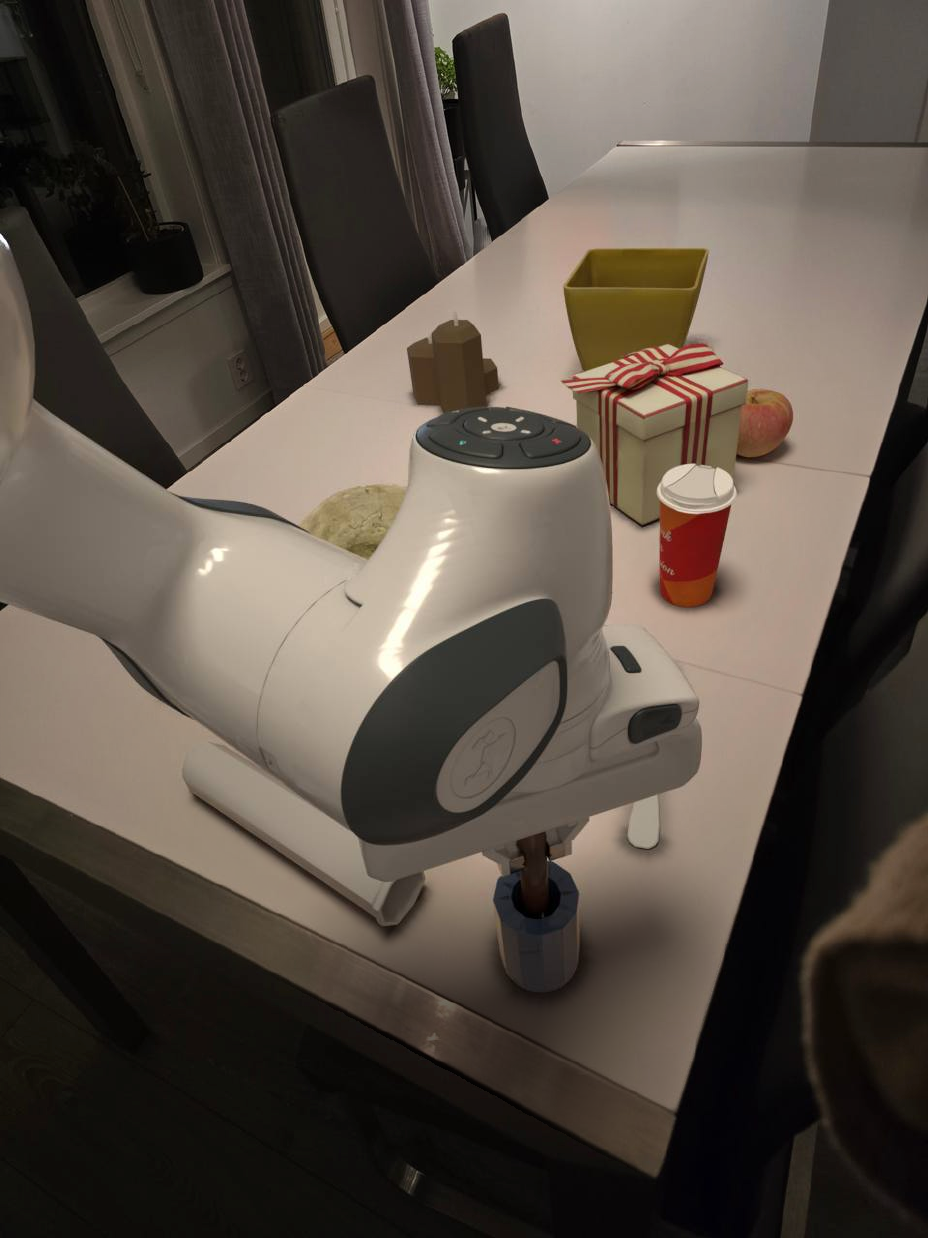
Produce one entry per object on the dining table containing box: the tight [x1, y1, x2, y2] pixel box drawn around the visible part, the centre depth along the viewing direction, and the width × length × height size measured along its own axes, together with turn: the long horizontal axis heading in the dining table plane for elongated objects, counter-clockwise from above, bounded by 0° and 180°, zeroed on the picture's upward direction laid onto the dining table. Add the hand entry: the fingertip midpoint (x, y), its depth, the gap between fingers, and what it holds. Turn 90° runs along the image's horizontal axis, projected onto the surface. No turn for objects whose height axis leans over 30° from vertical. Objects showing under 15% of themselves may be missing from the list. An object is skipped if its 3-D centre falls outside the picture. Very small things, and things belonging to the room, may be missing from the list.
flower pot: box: [562, 247, 710, 372], centre depth 126 cm, size 19×19×17 cm
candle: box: [406, 310, 500, 414], centre depth 126 cm, size 14×14×15 cm
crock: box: [492, 860, 581, 994], centre depth 56 cm, size 6×6×8 cm
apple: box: [736, 388, 794, 458], centre depth 107 cm, size 9×9×8 cm
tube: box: [181, 742, 426, 927], centre depth 67 cm, size 5×5×25 cm
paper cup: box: [657, 464, 738, 608], centre depth 84 cm, size 8×8×14 cm
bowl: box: [298, 483, 407, 560], centre depth 90 cm, size 14×18×15 cm
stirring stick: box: [517, 831, 550, 919], centre depth 53 cm, size 2×2×17 cm
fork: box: [626, 794, 661, 850], centre depth 72 cm, size 3×21×3 cm, turn 165°
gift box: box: [560, 342, 749, 526], centre depth 101 cm, size 17×18×17 cm
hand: (533, 857), depth 51 cm, fingers closed on stirring stick, 2 cm apart
